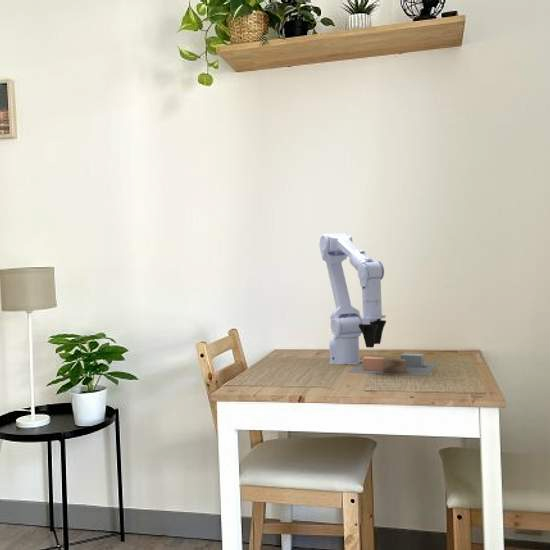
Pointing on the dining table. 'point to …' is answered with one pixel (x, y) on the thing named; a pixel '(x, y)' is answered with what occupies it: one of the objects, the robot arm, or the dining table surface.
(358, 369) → the felt mat
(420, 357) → the brick slate
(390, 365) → the brick walnut
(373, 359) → the brick terracotta
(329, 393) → the dining table surface
